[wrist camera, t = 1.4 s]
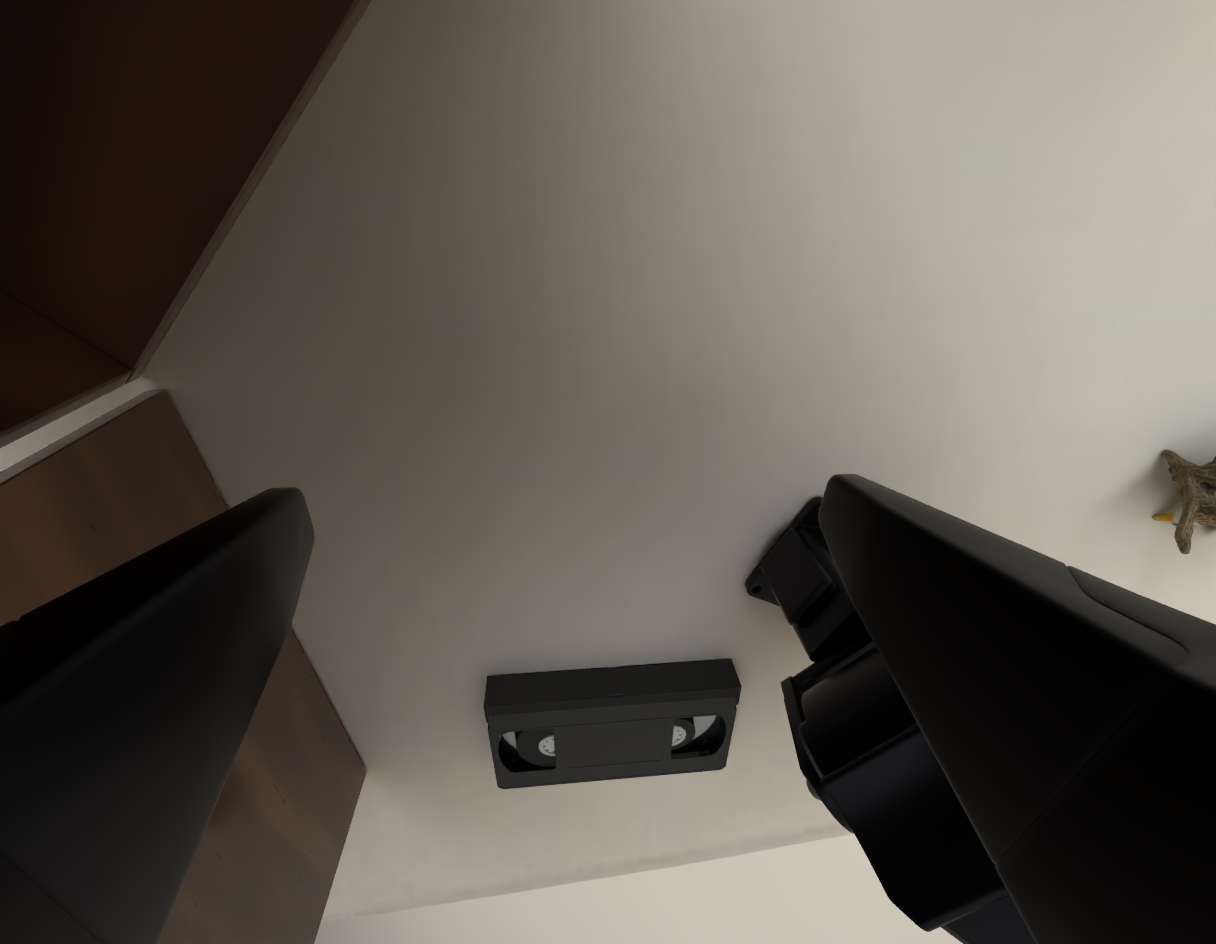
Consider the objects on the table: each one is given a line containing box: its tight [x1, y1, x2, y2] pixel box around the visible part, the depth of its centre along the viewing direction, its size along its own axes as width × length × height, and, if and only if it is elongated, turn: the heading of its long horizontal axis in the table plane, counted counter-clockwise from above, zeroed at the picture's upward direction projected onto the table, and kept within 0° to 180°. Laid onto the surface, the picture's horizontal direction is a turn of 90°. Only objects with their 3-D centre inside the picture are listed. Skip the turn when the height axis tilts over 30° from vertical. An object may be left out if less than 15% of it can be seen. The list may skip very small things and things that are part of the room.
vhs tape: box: [484, 659, 741, 789], centre depth 32 cm, size 14×8×2 cm, turn 90°
